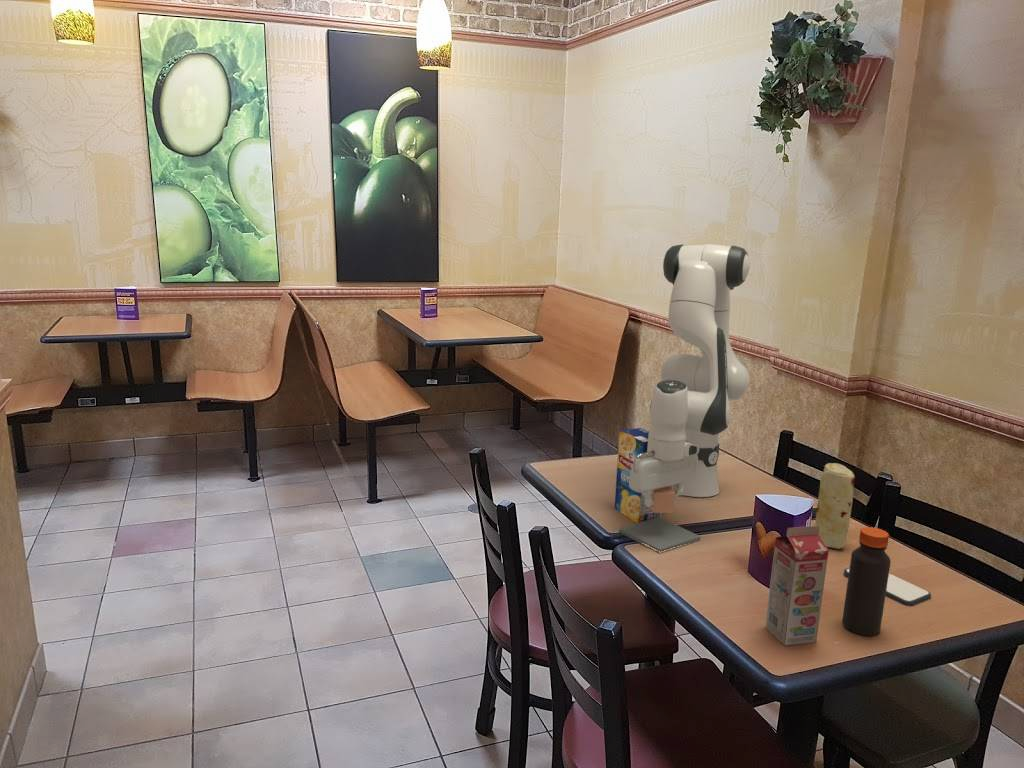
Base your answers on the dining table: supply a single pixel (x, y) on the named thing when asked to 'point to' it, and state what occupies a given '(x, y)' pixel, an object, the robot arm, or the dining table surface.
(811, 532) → the juice carton
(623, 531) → the coaster
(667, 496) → the cube
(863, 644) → the dining table surface
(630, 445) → the blue tall cardboard box
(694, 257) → the robot arm
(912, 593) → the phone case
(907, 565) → the dining table surface
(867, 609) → the bottle
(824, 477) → the food model
